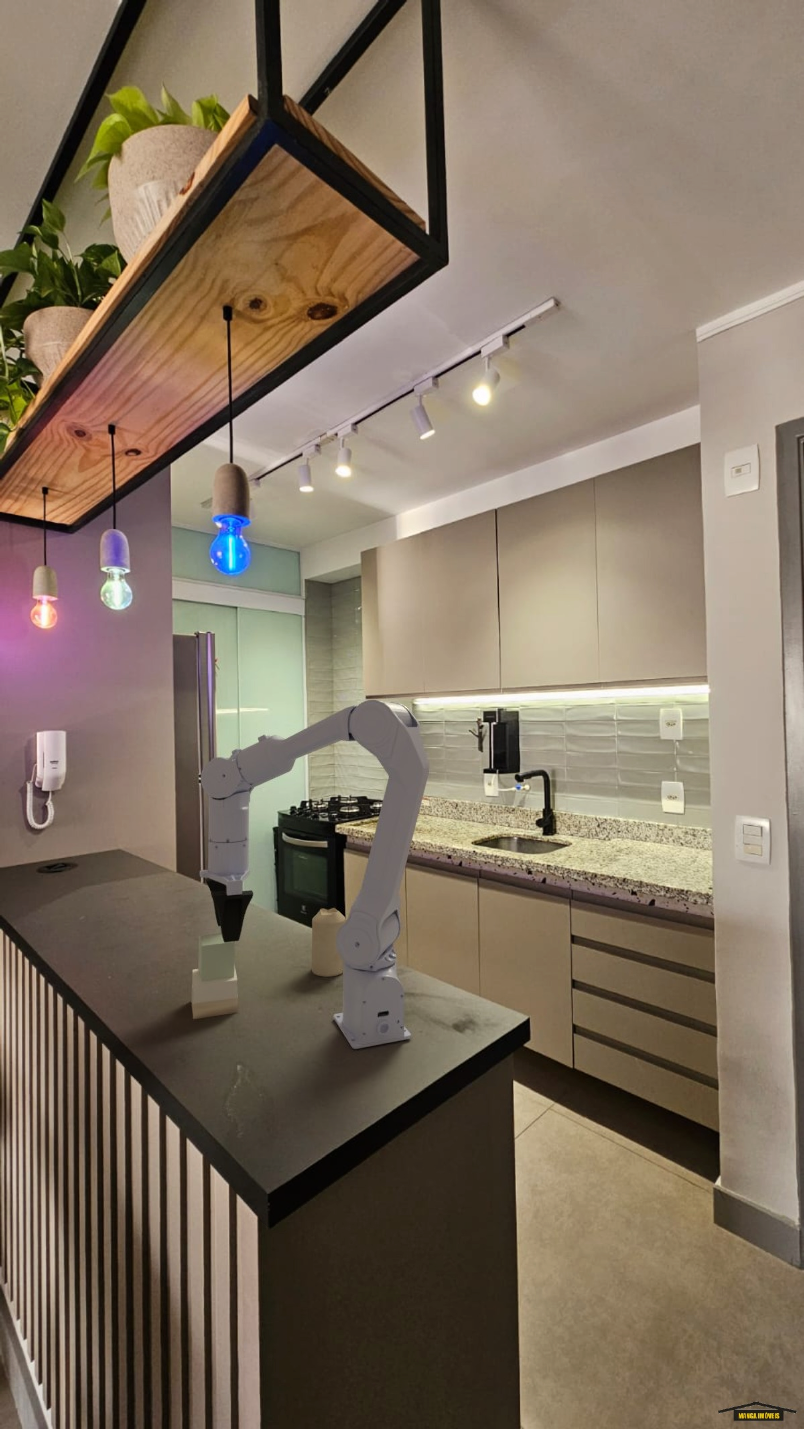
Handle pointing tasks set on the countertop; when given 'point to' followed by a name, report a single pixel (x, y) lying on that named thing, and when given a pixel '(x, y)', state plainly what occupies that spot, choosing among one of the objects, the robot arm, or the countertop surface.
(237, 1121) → the countertop surface
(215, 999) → the tower top
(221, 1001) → the tower base
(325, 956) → the candle
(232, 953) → the sage block
